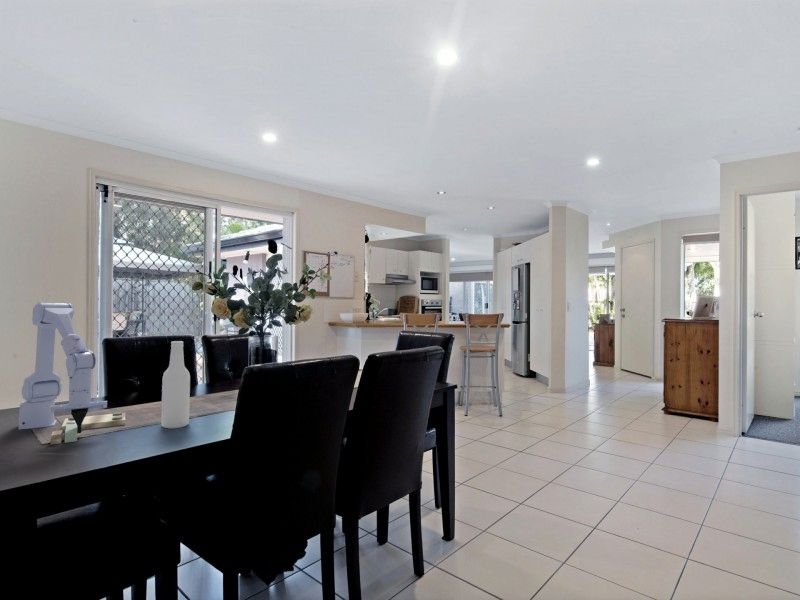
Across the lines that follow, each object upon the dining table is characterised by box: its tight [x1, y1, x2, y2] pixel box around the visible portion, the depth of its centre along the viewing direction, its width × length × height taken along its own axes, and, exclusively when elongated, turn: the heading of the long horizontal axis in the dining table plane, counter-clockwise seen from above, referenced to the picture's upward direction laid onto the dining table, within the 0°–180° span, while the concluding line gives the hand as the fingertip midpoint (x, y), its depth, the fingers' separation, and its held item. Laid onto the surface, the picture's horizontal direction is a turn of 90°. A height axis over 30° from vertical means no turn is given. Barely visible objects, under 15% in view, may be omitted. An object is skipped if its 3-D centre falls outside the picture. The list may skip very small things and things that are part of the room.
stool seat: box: [49, 411, 127, 446], centre depth 147 cm, size 19×27×3 cm
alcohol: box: [160, 340, 191, 430], centre depth 155 cm, size 9×9×30 cm
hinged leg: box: [64, 421, 78, 444], centre depth 139 cm, size 15×3×3 cm, turn 36°
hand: (79, 432), depth 139 cm, fingers closed, pressing on hinged leg
